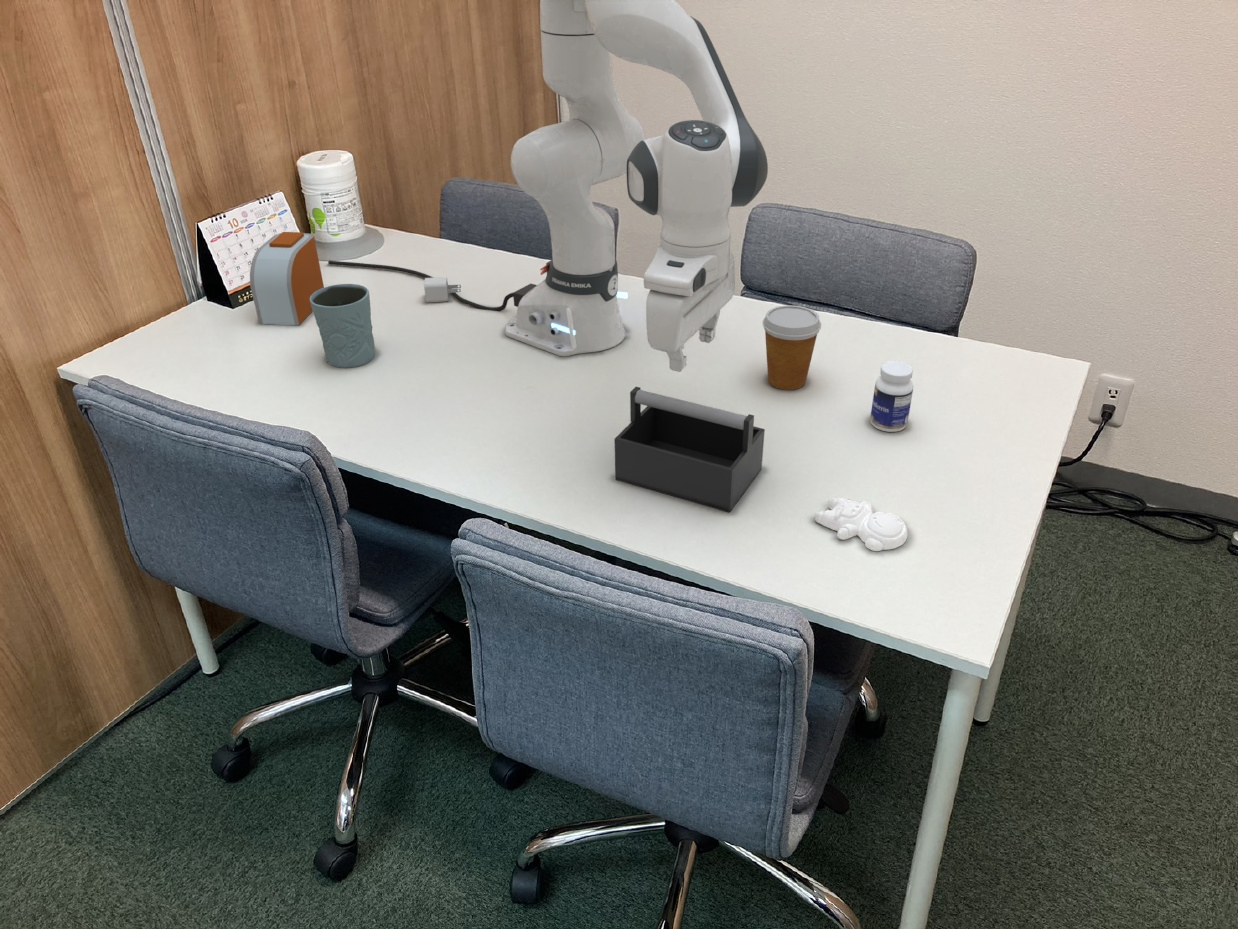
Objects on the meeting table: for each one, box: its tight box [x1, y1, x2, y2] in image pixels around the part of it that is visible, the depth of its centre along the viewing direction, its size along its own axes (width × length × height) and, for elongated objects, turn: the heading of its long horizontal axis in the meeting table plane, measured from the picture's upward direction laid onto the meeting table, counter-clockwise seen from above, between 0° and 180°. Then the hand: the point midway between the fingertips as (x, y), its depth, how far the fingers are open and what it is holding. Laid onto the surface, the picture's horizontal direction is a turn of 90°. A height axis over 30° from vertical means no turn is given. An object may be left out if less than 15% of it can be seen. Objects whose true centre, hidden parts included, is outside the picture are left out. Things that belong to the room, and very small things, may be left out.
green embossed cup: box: [310, 283, 376, 369], centre depth 174 cm, size 10×10×12 cm
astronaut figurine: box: [814, 497, 908, 552], centre depth 132 cm, size 9×12×3 cm
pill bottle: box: [869, 360, 914, 433], centre depth 153 cm, size 6×6×10 cm
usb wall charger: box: [423, 276, 462, 303], centre depth 197 cm, size 4×7×4 cm, turn 96°
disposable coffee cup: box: [762, 304, 822, 391], centre depth 164 cm, size 10×10×12 cm
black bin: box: [614, 386, 766, 513], centre depth 141 cm, size 18×12×12 cm, turn 62°
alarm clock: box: [249, 231, 325, 326], centre depth 191 cm, size 15×8×14 cm, turn 172°
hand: (692, 354), depth 133 cm, fingers open, 8 cm apart
